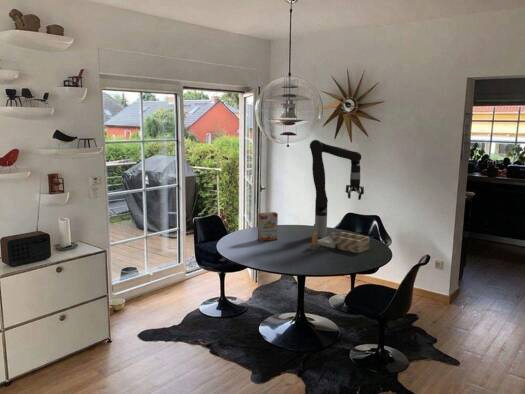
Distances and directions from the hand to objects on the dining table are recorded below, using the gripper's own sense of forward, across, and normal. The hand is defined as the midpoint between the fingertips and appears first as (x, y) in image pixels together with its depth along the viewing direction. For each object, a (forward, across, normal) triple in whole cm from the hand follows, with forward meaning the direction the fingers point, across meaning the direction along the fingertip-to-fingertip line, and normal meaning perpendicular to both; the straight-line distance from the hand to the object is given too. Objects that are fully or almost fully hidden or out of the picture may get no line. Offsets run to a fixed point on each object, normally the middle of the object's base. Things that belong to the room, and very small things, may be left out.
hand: (354, 199), depth 346 cm
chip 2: (+28, -1, -28) cm, 39 cm away
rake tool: (+30, -6, -45) cm, 54 cm away
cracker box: (+30, -45, -50) cm, 74 cm away
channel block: (+30, +13, -28) cm, 43 cm away
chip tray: (+30, -2, -28) cm, 41 cm away
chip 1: (+24, -1, -28) cm, 37 cm away
